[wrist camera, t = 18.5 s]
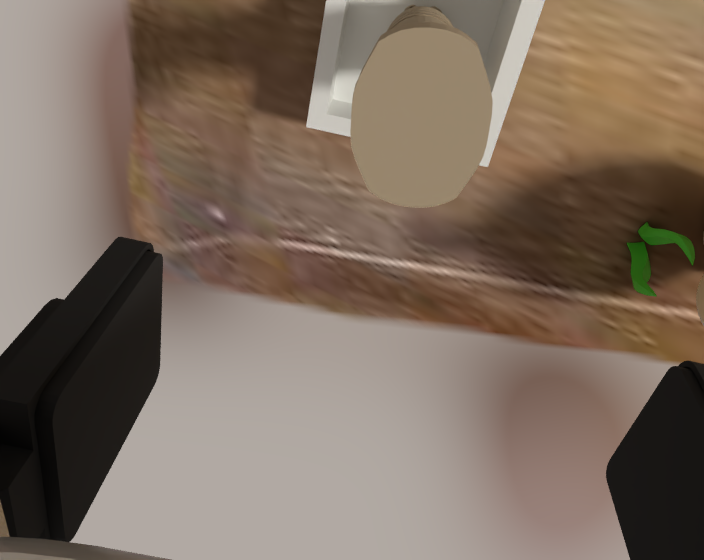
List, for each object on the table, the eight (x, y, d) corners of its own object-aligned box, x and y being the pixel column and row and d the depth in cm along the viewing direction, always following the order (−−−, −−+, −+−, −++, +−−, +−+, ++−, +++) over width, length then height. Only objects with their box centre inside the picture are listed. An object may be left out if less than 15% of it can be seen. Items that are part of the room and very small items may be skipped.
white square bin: (349, -100, 32) (335, -95, 27) (538, -56, 32) (559, -43, 27) (315, 107, 38) (298, 143, 33) (474, 143, 38) (481, 184, 33)
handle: (372, 89, 36) (347, 202, 24) (380, -34, 33) (355, 22, 20) (456, 95, 36) (474, 212, 23) (473, -28, 32) (506, 32, 20)
